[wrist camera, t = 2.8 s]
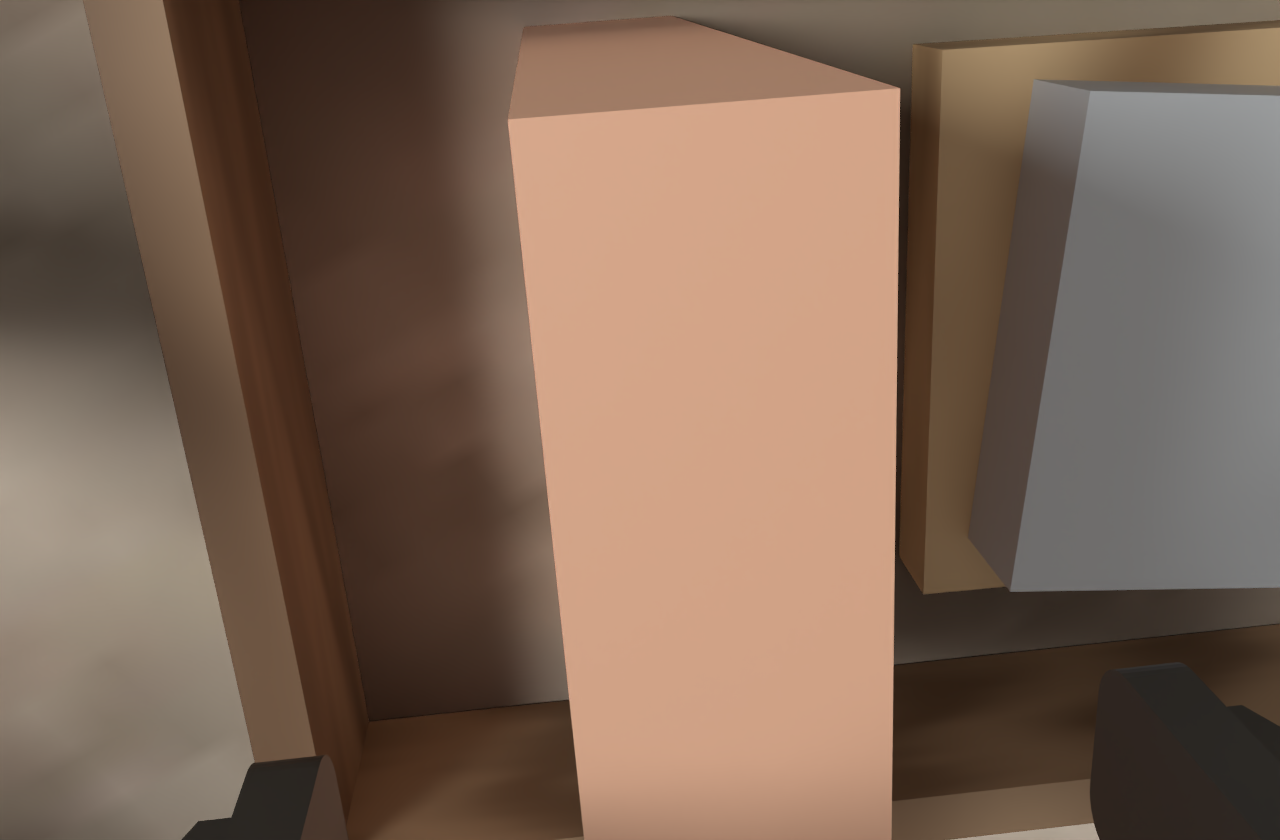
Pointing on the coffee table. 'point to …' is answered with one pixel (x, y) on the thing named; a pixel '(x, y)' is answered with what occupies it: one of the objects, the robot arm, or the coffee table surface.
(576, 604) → the salmon orange rectangular slab
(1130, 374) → the offcut top
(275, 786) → the robot arm
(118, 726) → the coffee table surface
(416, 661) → the coffee table surface
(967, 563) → the offcut bottom
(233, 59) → the wooden tray
